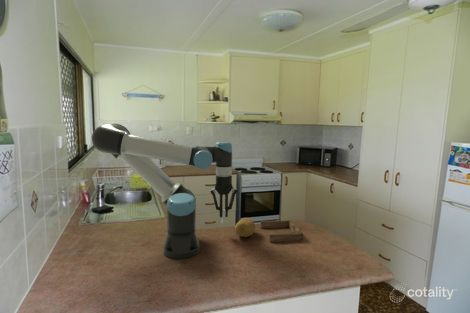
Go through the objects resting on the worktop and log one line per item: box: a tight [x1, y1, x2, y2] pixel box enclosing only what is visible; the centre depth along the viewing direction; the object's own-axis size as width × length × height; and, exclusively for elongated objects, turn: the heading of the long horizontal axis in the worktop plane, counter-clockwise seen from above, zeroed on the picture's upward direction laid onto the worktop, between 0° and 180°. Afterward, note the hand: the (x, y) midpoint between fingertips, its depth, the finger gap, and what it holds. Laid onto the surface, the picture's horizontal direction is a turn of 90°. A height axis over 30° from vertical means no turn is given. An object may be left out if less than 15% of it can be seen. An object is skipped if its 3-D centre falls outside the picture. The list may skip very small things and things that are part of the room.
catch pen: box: [260, 219, 304, 243], centre depth 140 cm, size 18×16×4 cm
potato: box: [234, 217, 256, 238], centre depth 137 cm, size 10×14×8 cm
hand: (223, 223), depth 135 cm, fingers closed
